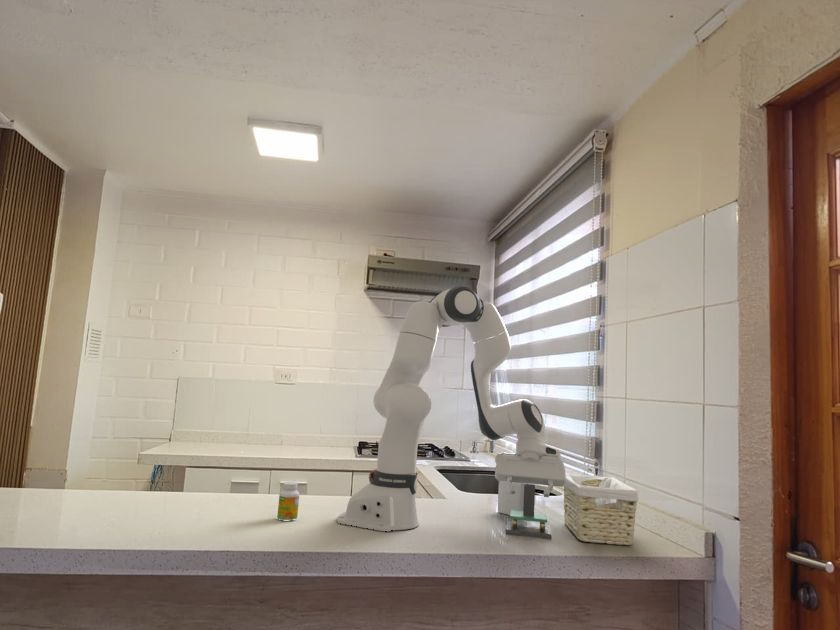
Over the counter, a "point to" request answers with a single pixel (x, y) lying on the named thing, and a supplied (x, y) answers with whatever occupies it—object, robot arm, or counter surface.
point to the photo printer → (510, 497)
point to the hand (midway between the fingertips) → (529, 494)
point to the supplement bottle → (288, 501)
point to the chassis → (528, 528)
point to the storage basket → (600, 509)
